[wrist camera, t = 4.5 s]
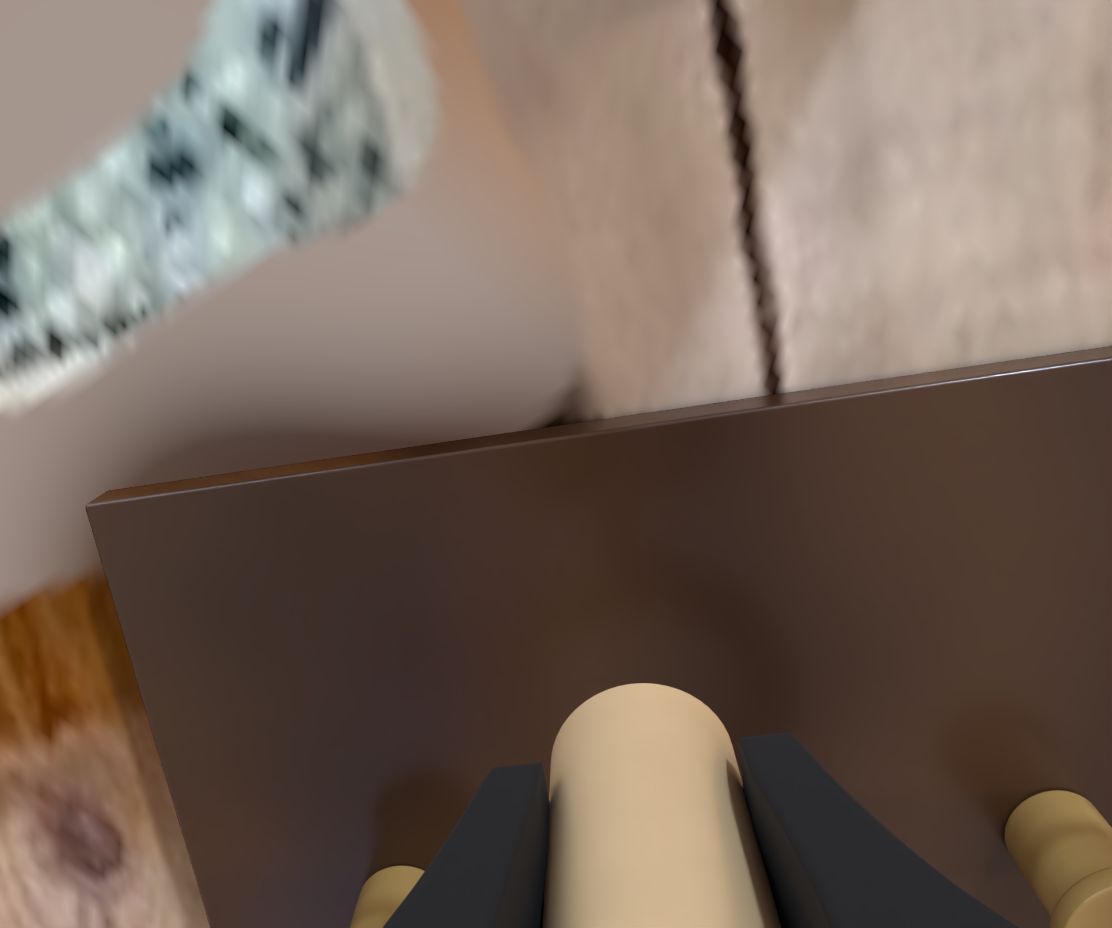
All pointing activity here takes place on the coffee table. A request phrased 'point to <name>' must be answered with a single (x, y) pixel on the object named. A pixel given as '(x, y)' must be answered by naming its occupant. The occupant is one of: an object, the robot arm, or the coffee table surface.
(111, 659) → the coffee table surface
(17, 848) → the coffee table surface
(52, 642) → the coffee table surface
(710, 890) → the ring
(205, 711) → the rack
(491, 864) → the robot arm
